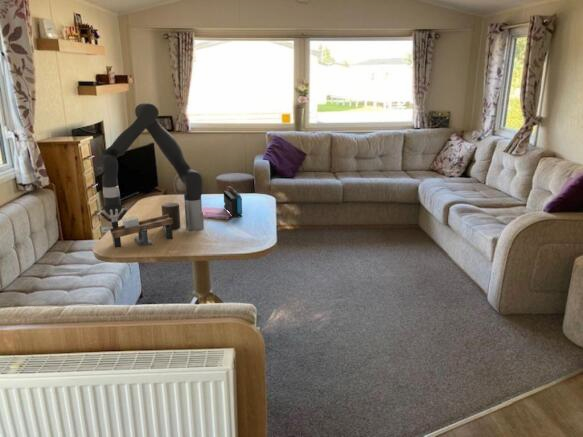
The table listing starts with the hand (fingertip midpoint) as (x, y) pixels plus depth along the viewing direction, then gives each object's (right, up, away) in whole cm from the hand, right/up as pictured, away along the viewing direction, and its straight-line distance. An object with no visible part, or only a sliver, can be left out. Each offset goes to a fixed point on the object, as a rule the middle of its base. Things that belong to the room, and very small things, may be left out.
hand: (115, 228), depth 235 cm
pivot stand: (+11, -7, +9) cm, 16 cm away
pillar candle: (+21, 0, +31) cm, 37 cm away
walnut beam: (+11, +1, +6) cm, 13 cm away
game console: (+52, +8, +60) cm, 79 cm away
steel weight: (+7, 0, +4) cm, 8 cm away
